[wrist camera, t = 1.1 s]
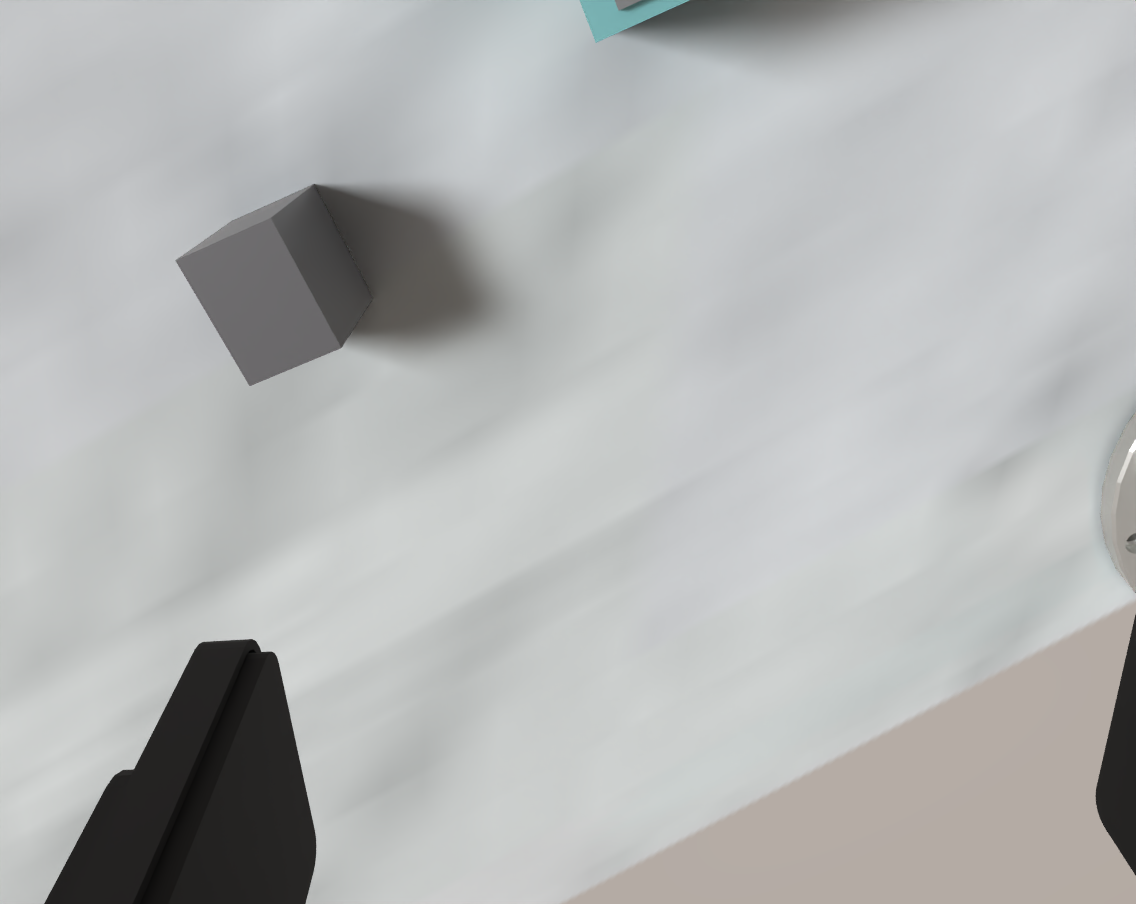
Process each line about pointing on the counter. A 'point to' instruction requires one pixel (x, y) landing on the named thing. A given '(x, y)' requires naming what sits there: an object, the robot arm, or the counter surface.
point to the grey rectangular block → (278, 285)
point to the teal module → (621, 14)
